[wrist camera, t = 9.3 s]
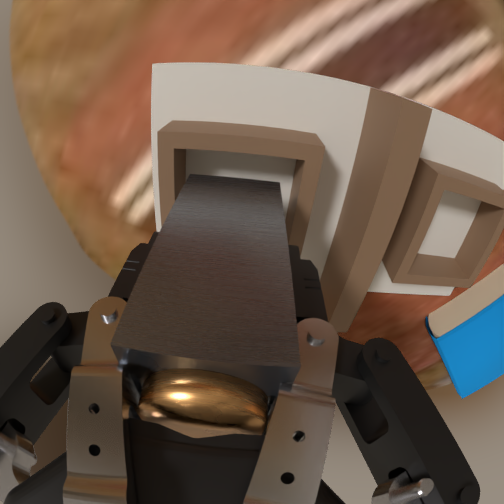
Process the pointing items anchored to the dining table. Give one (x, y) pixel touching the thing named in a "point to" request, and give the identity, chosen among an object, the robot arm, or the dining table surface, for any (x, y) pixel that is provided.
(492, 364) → the book
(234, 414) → the peg
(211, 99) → the plate
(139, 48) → the dining table surface
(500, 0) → the dining table surface
